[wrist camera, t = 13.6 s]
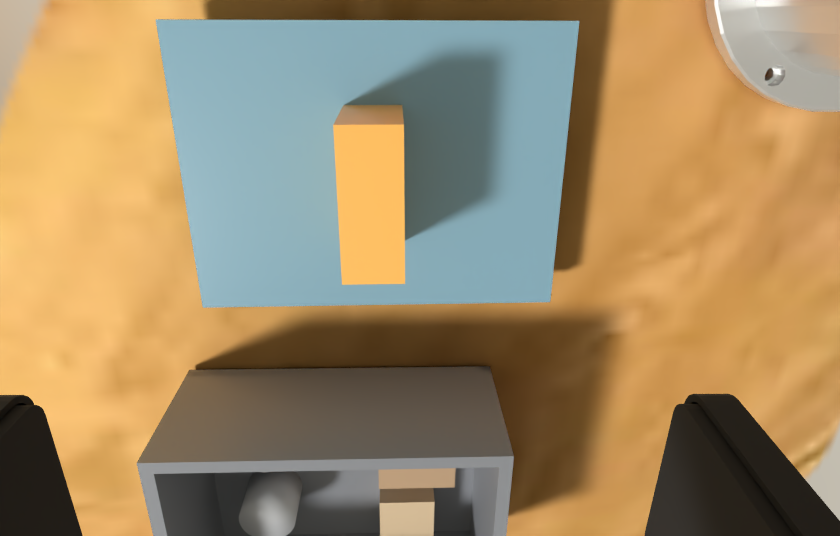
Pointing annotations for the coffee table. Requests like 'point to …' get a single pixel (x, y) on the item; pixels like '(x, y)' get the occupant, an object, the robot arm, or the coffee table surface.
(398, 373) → the parts tub
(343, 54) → the tub lid
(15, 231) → the coffee table surface
